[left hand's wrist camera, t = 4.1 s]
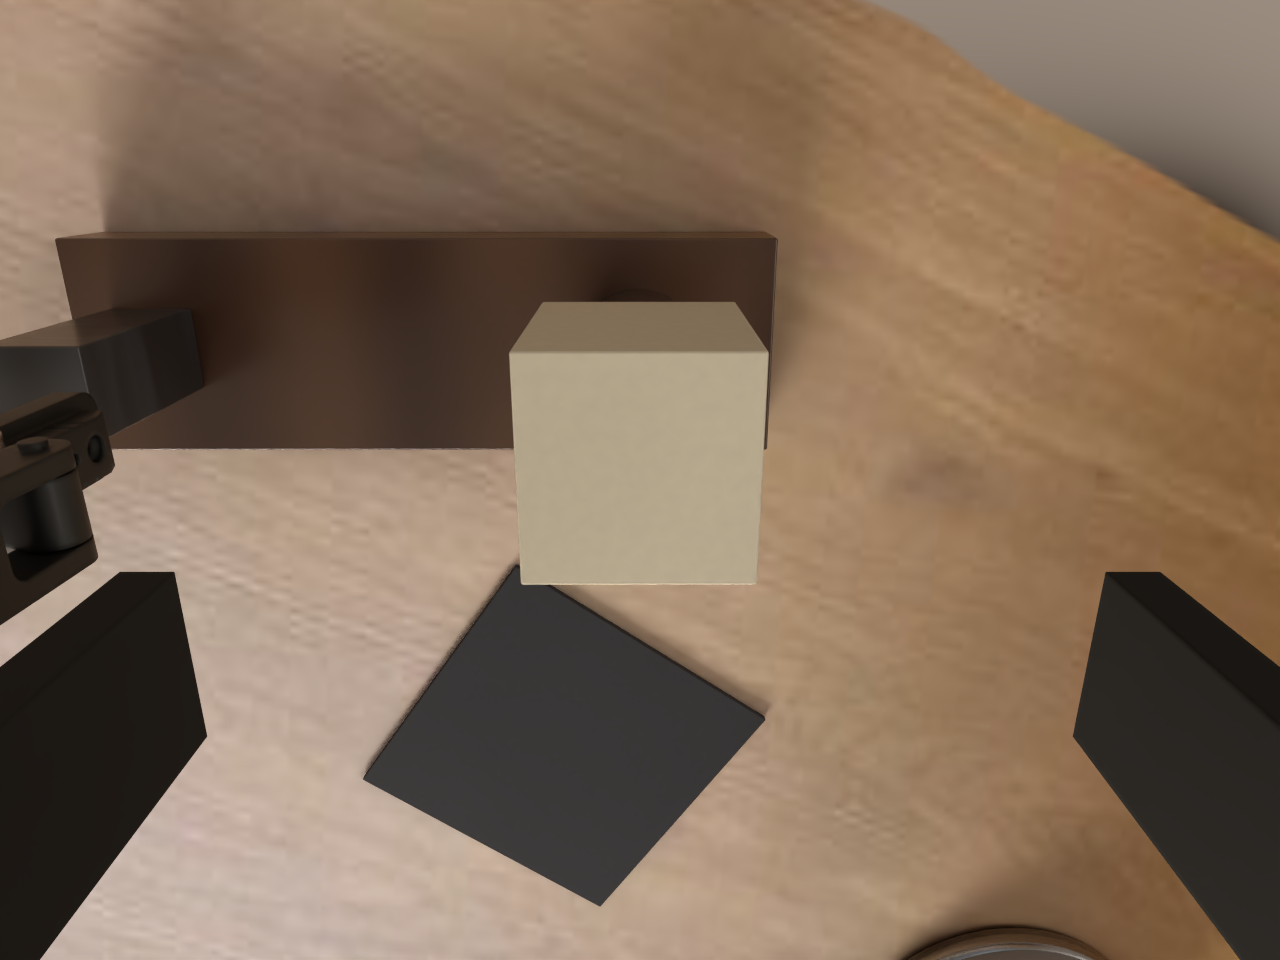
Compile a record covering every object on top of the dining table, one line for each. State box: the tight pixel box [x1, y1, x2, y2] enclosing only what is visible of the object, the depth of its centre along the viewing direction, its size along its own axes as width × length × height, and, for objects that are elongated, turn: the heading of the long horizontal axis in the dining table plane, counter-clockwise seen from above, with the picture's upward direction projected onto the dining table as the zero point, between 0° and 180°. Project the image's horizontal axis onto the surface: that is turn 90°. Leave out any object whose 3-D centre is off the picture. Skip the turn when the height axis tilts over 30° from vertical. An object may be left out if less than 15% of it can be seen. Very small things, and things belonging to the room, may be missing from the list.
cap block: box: [509, 302, 769, 585], centre depth 23 cm, size 6×6×7 cm
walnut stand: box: [0, 232, 778, 450], centre depth 31 cm, size 26×8×10 cm, turn 90°
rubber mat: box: [363, 565, 765, 906], centre depth 43 cm, size 14×14×1 cm
